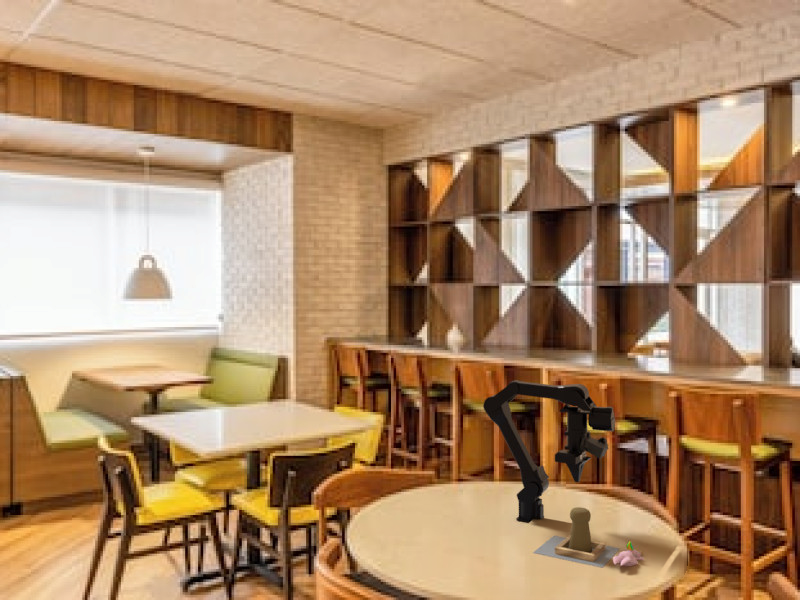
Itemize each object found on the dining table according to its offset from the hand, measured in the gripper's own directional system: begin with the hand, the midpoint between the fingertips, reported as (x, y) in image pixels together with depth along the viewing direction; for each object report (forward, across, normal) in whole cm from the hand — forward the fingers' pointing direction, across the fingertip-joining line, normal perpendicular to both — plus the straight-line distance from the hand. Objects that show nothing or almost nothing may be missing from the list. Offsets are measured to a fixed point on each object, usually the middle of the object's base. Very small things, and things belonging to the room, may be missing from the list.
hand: (577, 481), depth 198 cm
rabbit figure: (+13, -20, -21) cm, 32 cm away
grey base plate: (+13, -21, -8) cm, 26 cm away
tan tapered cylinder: (+12, -20, -9) cm, 25 cm away
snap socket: (+12, -20, -9) cm, 25 cm away
